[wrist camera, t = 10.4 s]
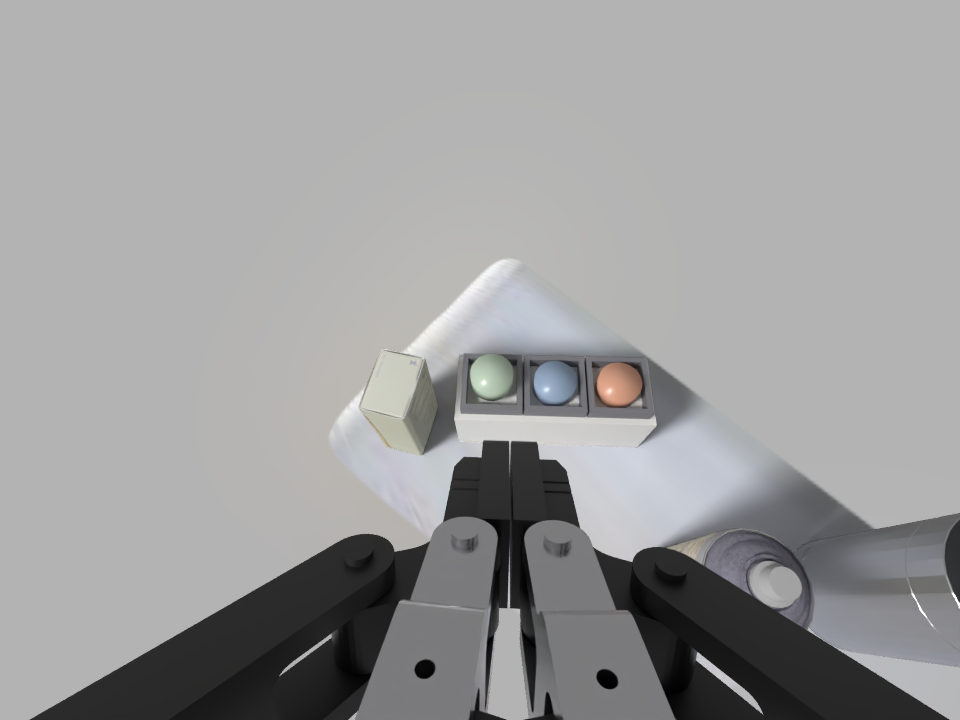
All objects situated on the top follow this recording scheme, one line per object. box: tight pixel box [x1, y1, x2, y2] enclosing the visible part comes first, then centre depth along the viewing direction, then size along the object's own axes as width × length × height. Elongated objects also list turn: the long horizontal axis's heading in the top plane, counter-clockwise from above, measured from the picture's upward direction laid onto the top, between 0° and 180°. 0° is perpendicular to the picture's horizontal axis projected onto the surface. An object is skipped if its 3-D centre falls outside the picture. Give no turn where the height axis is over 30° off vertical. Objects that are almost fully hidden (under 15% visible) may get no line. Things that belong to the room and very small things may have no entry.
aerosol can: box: [667, 528, 815, 630], centre depth 34 cm, size 7×7×20 cm
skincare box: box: [359, 349, 438, 455], centre depth 46 cm, size 6×4×12 cm
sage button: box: [470, 354, 514, 401], centre depth 44 cm, size 4×4×2 cm
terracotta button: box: [595, 362, 642, 408], centre depth 44 cm, size 4×4×2 cm
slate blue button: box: [533, 361, 577, 406], centre depth 45 cm, size 4×4×2 cm
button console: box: [454, 354, 657, 448], centre depth 48 cm, size 19×7×8 cm, turn 88°
